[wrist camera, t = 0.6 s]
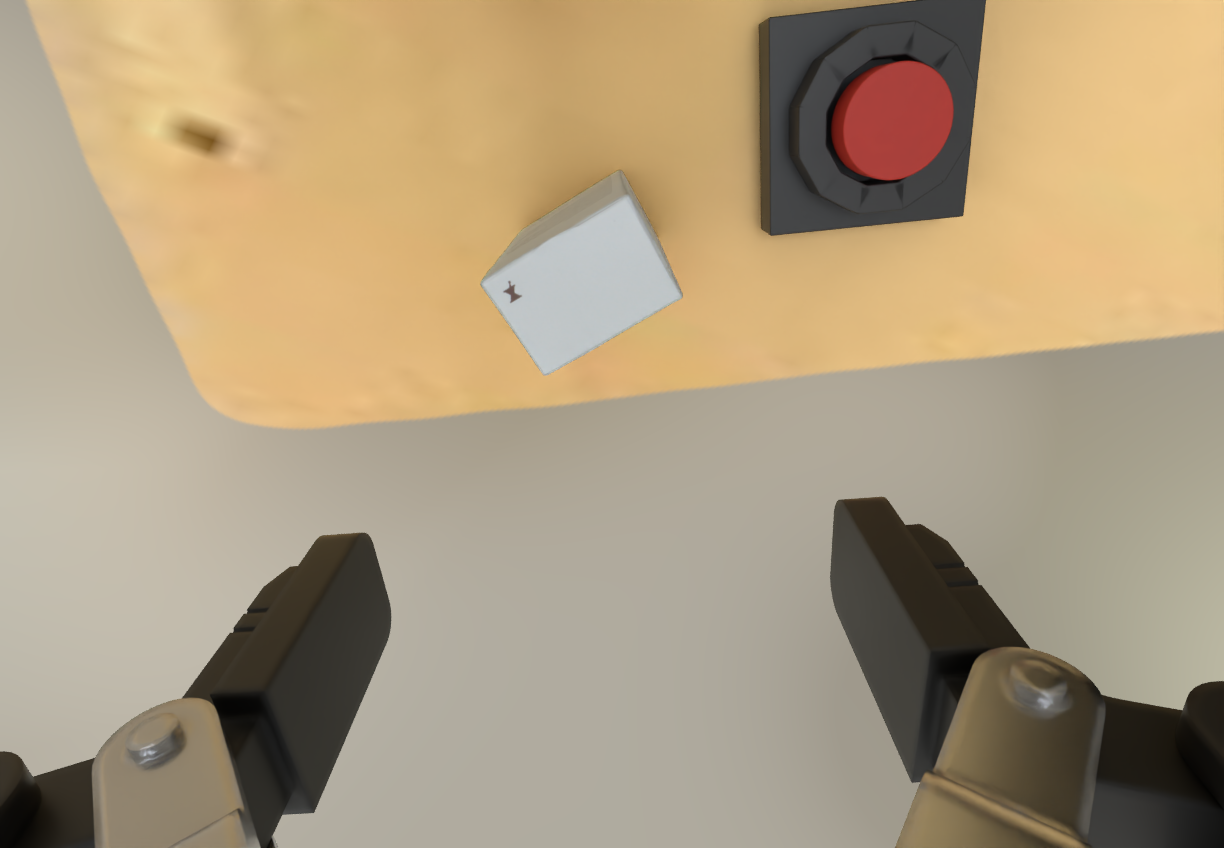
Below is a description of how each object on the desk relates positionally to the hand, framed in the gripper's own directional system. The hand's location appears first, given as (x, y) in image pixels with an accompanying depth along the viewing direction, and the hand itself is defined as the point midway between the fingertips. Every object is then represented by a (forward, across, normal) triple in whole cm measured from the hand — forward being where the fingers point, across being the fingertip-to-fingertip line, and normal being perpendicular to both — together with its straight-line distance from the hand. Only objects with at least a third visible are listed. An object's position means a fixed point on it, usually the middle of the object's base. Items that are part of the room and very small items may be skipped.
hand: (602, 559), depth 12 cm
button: (+22, -12, -6) cm, 26 cm away
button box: (+26, -12, -6) cm, 29 cm away
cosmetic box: (+26, +1, -1) cm, 26 cm away
